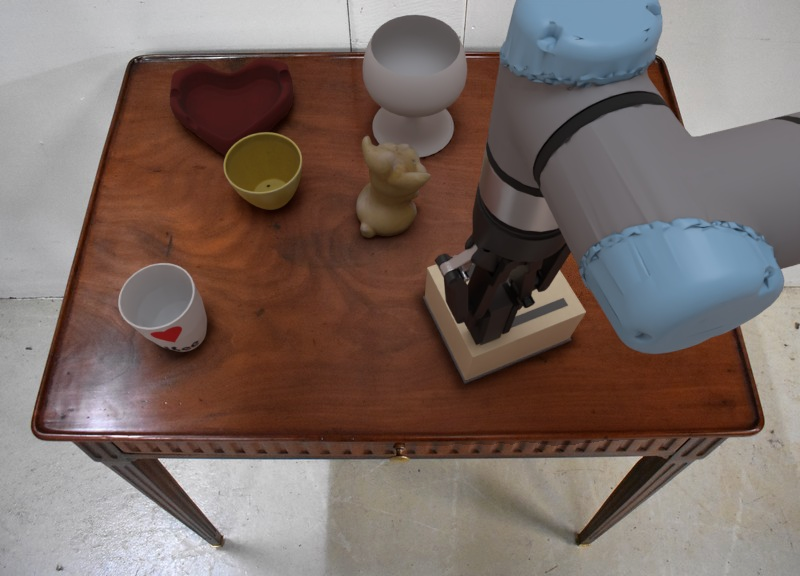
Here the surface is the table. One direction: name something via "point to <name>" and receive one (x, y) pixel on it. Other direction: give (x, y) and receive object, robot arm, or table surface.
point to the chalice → (414, 81)
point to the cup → (164, 307)
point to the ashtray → (231, 100)
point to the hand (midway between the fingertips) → (487, 327)
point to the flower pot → (264, 169)
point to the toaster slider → (497, 315)
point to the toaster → (526, 338)
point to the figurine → (389, 188)
